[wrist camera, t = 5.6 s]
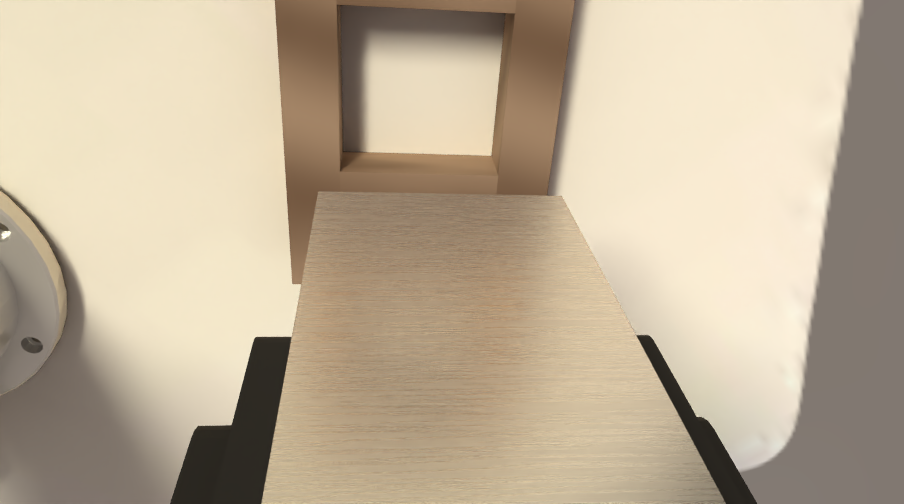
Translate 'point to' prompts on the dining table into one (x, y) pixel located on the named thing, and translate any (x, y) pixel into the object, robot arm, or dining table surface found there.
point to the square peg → (469, 365)
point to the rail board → (330, 169)
